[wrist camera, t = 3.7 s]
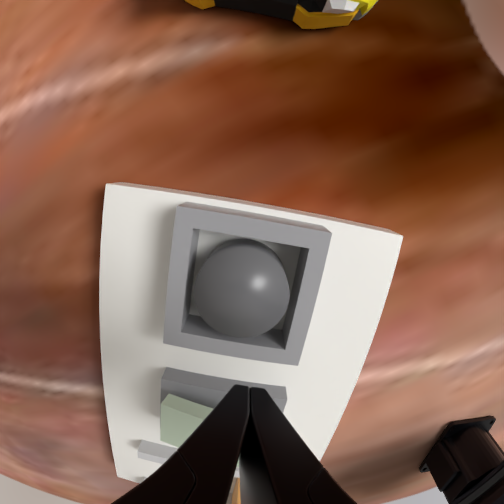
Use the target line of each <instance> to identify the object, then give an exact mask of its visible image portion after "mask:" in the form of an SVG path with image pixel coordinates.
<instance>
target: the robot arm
mask: <svg viewBox="0 0 504 504" xmlns="http://www.w3.org/2000/svg"><path fill="white" fill-rule="evenodd" d="M495 420H496V419H495V417H494V416H490V417H484V418H478V419H471V420H464V421H457V422H452V423H450V424H449V425H448V426H447V427H446V429H445V431H444V432H443V434H442V435H441V437H440V438H439V440H438V441H437V443H436V444H435V446H434V447H433V449H432V450H431V452H430V453H429V454H428V456H427V457H426V459H425V460H424V461H423V463H422V464H421V466H420V467H419V470H420V472H427V471H430V472H431V474H432V476H433V478H434V480H435V483H436V485H437V487H438V489H439V491H440V492H442V491H443V493H444V495H445V497H446V499H447V501H448V503H449V504H504V452H503V451H502V449H501V448H500V447H499V445H498V444H497V442H496V441H495V440H494V438H493V437H492V436H491V434H490V433H489V432H488V431H489V430H490V428H491V427H492V425H493V424H494V422H495ZM238 460H239V476H240V500H241V504H357V503H356V502H355V501H354V500H353V499H352V498H351V497H350V496H349V495H348V494H347V493H346V492H345V491H344V490H343V489H342V488H341V487H340V486H339V484H338V483H337V482H336V481H335V480H334V479H333V478H332V476H331V475H330V474H329V473H328V471H327V470H326V469H325V468H323V465H322V464H321V463H320V461H319V460H318V459H317V458H316V456H315V455H314V454H313V452H312V451H311V450H310V449H309V447H308V446H307V445H306V443H305V442H304V441H303V439H302V438H301V437H300V435H299V434H298V433H297V431H296V430H295V429H294V427H293V426H292V425H291V423H290V422H289V421H288V419H287V418H286V417H285V415H284V414H283V412H282V411H281V410H280V408H279V407H278V406H277V404H276V403H275V401H274V400H273V399H272V397H271V396H270V394H269V393H268V392H267V390H266V389H265V388H259V387H250V388H249V386H245V385H239V384H235V385H234V386H233V387H232V388H231V389H230V390H229V391H228V393H227V394H226V395H225V396H224V397H223V398H222V400H221V401H220V402H219V403H218V404H217V405H216V407H215V408H214V409H213V410H212V411H211V412H210V413H209V415H208V416H207V417H206V418H205V419H204V420H203V421H202V423H201V424H200V425H199V426H198V427H197V428H196V429H195V430H194V432H193V433H192V434H191V435H190V436H189V437H188V438H187V439H186V440H185V441H184V443H183V444H182V445H181V446H180V447H179V448H178V449H177V451H175V452H174V453H173V454H172V455H171V456H170V457H169V459H168V460H167V461H166V462H164V463H163V464H162V465H161V466H160V467H159V468H158V469H157V470H156V471H155V472H154V473H153V474H151V475H150V476H149V477H148V478H146V479H145V480H144V481H143V482H141V483H140V484H138V485H137V486H136V487H134V488H133V489H131V490H130V491H129V492H127V493H126V494H124V495H123V496H121V497H120V498H119V499H117V500H116V501H114V502H113V503H111V504H226V503H227V499H228V496H229V492H230V489H231V485H232V482H233V478H234V474H235V471H236V467H237V463H238Z"/></svg>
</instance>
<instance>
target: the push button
mask: <svg viewBox="0 0 504 504" xmlns="http://www.w3.org/2000/svg"><path fill="white" fill-rule="evenodd" d="M289 297H290V291H289V285H288V281H287V277H286V274H285V270H284V267H283V264H282V262H281V260H280V258H279V257H278V256H277V254H276V253H275V252H274V251H273V250H272V249H271V248H269V247H268V246H267V245H265V244H263V243H261V242H258V241H256V240H252V239H234V240H230V241H227V242H225V243H223V244H221V245H219V246H218V247H217V248H215V249H214V250H213V251H212V252H211V253H210V254H209V256H208V257H207V259H206V260H205V262H204V264H203V266H202V267H201V269H200V271H199V273H198V275H197V277H196V280H195V284H194V301H195V305H196V307H197V310H198V312H199V314H200V315H201V317H202V318H203V320H204V321H205V322H206V323H207V324H208V325H209V326H210V327H212V328H213V329H215V330H216V331H218V332H220V333H222V334H224V335H227V336H231V337H237V338H248V337H254V336H258V335H261V334H263V333H265V332H267V331H269V330H270V329H272V328H273V327H274V326H275V325H276V324H278V322H279V321H280V320H281V319H282V317H283V316H284V314H285V312H286V310H287V307H288V304H289Z"/></svg>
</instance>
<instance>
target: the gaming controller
mask: <svg viewBox="0 0 504 504" xmlns="http://www.w3.org/2000/svg"><path fill="white" fill-rule="evenodd" d="M185 1H186V2H188V3H190V4H191V5H193V6H195V7H198V8H200V9H202V10H203V9H206V8H209V7H213V6H217V7H224V8H230V9H237V10H243V11H248V12H253V13H259V14H263V15H268V16H273V17H277V18H281V19H286V20H290V21H294V22H295V23H296V24H297V25H299V26H300V27H301V28H302V29H319V28H327V27H336V26H347V25H349V23H350V22H351V20H359V19H360V18H362V17H363V16H365V15H366V14H367V13H368V12H369V11H370V9H371V8H372V7H373V6H374V5H375V4H376V3H377V1H378V0H185Z"/></svg>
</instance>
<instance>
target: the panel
mask: <svg viewBox="0 0 504 504" xmlns="http://www.w3.org/2000/svg"><path fill="white" fill-rule="evenodd" d="M234 239H252V240H256V241H258V242H261V243H263V244H265V245H267V246H268V247H269V248H271V249H272V250H273V251H274V252H275V253H276V254H277V256H278V257H279V258H280V260H281V262H282V264H283V267H284V270H285V274H286V277H287V281H288V285H289V291H290V297H289V304H288V307H287V310H286V312H285V314H284V316H283V317H282V319H281V320H280V321H279V322H278V324H276V325H275V326H274V327H273V328H272V329H270V330H269V331H267V332H265V333H263V334H261V335H258V336H254V337H248V338H237V337H231V336H227V335H224V334H222V333H220V332H218V331H216V330H215V329H213V328H212V327H210V326H209V325H208V324H207V323H206V322H205V321H204V320H203V318H202V317H201V315H200V314H199V312H198V310H197V307H196V305H195V301H194V284H195V280H196V277H197V275H198V273H199V271H200V269H201V267H202V266H203V264H204V262H205V260H206V259H207V257H208V256H209V254H210V253H211V252H212V251H213V250H214V249H215V248H217V247H218V246H219V245H221V244H223V243H225V242H227V241H230V240H234ZM402 239H403V236H402V235H400V234H398V233H396V232H394V231H391V230H389V229H386V228H381V227H377V226H372V225H368V224H363V223H358V222H354V221H349V220H344V219H339V218H335V217H330V216H325V215H320V214H315V213H310V212H305V211H299V210H294V209H289V208H284V207H278V206H273V205H267V204H262V203H256V202H250V201H244V200H239V199H233V198H227V197H221V196H214V195H208V194H202V193H195V192H189V191H182V190H175V189H169V188H162V187H154V186H147V185H140V184H132V183H124V182H118V183H108V184H106V188H105V197H104V207H103V218H102V232H101V249H100V277H99V316H100V344H101V361H102V374H103V385H104V395H105V404H106V412H107V420H108V427H109V433H110V440H111V446H112V451H113V457H114V462H115V467H116V472H117V477H120V478H124V479H127V480H130V481H134V482H137V483H141V482H143V481H144V480H145V479H146V478H148V477H149V476H150V475H151V474H153V473H154V472H155V471H156V470H157V469H158V468H159V467H160V466H161V465H162V464H163V463H164V462H166V461H167V460H168V459H169V457H170V456H171V455H172V454H173V453H174V452H175V451H177V449H178V447H176V446H173V445H170V444H168V443H165V442H163V441H160V423H161V403H162V402H163V400H164V399H165V398H166V397H167V395H168V394H172V395H175V396H178V397H180V398H183V399H186V400H189V401H192V402H195V403H198V404H201V405H204V406H207V407H210V408H213V409H214V408H215V407H216V405H217V404H218V403H219V402H220V401H221V400H222V398H223V397H224V396H225V395H226V394H227V393H228V391H229V390H230V389H231V388H232V387H233V386H234V385H235V384H239V385H245V386H249V388H250V387H259V388H265V389H266V390H267V392H268V393H269V394H270V396H271V397H272V399H273V400H274V401H275V403H276V404H277V406H278V407H279V408H280V410H281V411H282V412H283V414H284V415H285V417H286V418H287V419H288V421H289V422H290V423H291V425H292V426H293V427H294V429H295V430H296V431H297V433H298V434H299V435H300V437H301V438H302V439H303V441H304V442H305V443H306V445H307V446H308V447H309V449H310V450H311V451H312V452H313V454H314V455H315V456H316V458H317V459H318V460H319V461H320V460H321V458H322V456H323V454H324V452H325V450H326V448H327V446H328V444H329V442H330V440H331V438H332V436H333V434H334V432H335V430H336V428H337V426H338V423H339V421H340V419H341V417H342V415H343V412H344V410H345V408H346V406H347V403H348V401H349V399H350V396H351V394H352V392H353V389H354V387H355V384H356V382H357V379H358V377H359V374H360V372H361V369H362V367H363V364H364V362H365V359H366V356H367V354H368V351H369V348H370V345H371V343H372V340H373V337H374V334H375V331H376V328H377V325H378V322H379V319H380V316H381V313H382V310H383V307H384V304H385V301H386V298H387V294H388V291H389V288H390V284H391V281H392V277H393V274H394V270H395V266H396V263H397V259H398V255H399V251H400V247H401V243H402ZM237 477H238V478H240V476H239V467H236V471H235V474H234V478H233V482H232V485H231V489H230V492H229V496H228V499H227V503H226V504H232V494H233V490H234V487H235V483H236V480H237Z"/></svg>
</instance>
